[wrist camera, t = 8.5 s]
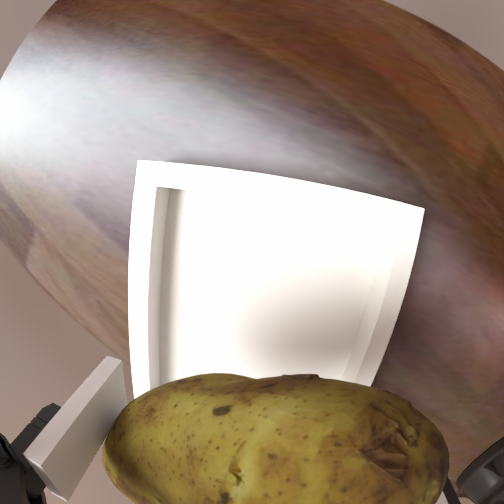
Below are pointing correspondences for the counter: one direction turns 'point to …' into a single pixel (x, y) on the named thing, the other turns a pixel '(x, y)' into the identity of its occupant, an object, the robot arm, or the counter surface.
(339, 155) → the counter surface
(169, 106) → the counter surface
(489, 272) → the counter surface
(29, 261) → the counter surface
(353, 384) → the potato
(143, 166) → the tray
